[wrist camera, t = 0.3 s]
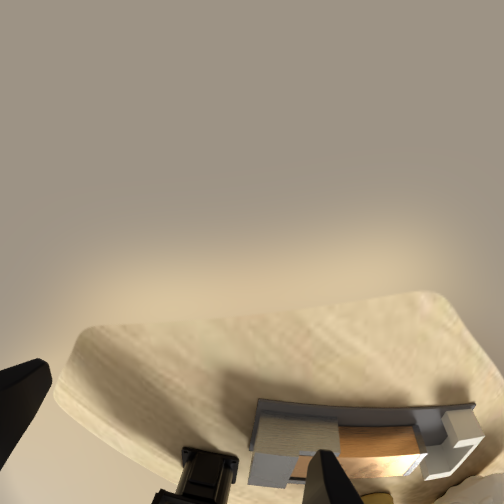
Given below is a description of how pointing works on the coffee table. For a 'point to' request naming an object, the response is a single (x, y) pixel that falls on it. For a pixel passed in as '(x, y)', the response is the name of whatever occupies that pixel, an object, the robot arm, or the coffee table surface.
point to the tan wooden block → (375, 452)
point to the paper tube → (377, 498)
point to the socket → (452, 444)
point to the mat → (370, 417)
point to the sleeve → (289, 445)
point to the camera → (476, 491)
